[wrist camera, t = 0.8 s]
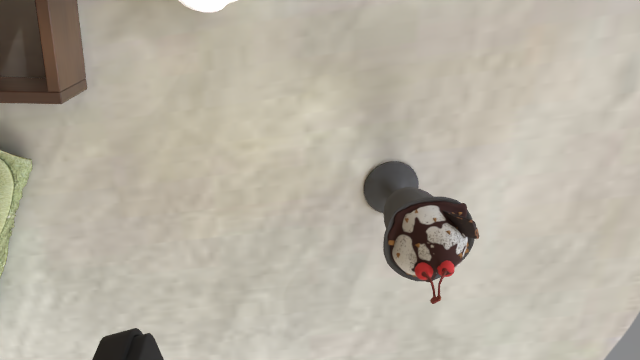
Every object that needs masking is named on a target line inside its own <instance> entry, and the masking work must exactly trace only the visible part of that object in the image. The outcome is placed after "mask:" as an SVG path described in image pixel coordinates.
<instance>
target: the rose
mask: <svg viewBox="0 0 640 360" xmlns="http://www.w3.org/2000/svg"><path fill="white" fill-rule="evenodd" d="M178 1H179V2H181V3H182V4H183V5H185V6H186V7H188V8H190V9H193V10H196V11H200V12H217V11H220V10H221V9H223V8H224V7H225V6H226V5H227V4H229V3H231V2H235V1H238V0H178Z"/></svg>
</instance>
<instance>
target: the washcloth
mask: <svg viewBox="0 0 640 360" xmlns="http://www.w3.org/2000/svg"><path fill="white" fill-rule="evenodd" d="M31 171H32V160H31V159H27V158H23V157H18V156H15V155H12V154H9V153H7V152H4V151H1V150H0V277H1V275H2V272H3V269H4V266H5V264H6V259H7V254H8V243H9V237H10V236H11V235H12V234H11V232H12V231H11V228H14V225H13V224H14V223H15V222H14V217H15V216H16V215H15V213H16V210H17V209H18V207H19V200H20V199H21V198H22V189H23V187H24V186H26V183H27V180H28V178H29V173H30V172H31Z"/></svg>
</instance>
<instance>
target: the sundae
mask: <svg viewBox="0 0 640 360" xmlns="http://www.w3.org/2000/svg"><path fill="white" fill-rule="evenodd" d="M364 194H365V198H366V200H367V202H368V204H369V205H370V206H371V207H372V208H373V209H375V210H377V211H379V212H382V213H384V222H385V226H386V231H385V235H384V255H385V258H386V261H387V263H388V264H389V266H390V267H391V268H392V269H393V270H394V271H395V272H397V273H398V274H400V275H401V276H403V277H406V278H408V279H411V280H415V281H426V282H430V283H431V286H432V289H433V298H432V299H431V300H430V301H431V303H432V304H434V303H436V302H438V301H440V300H441V296H440V284H441V282H442V279H443V278H444V277H448V276H451V275H452V274H453V273H454V269H455V268H456V267H457V266H458V265H459V264H460V263H461V261H462V260H464V259H465V257H466V256H467V255H468V253H469V252H470V250H471V248H472V246H473V243H474V239H478V238H479V233H478V229H477V227H476V224H475V222H474V221H473V220H472V218H471V215H470V213H469V212H468V210H467V206H466V204H465V203H460V202H458V201H457V200H454V199H451V198H446V197H433V196H432V195H431V194H429V193H428V192H425V191H423V190H421V189H418V178H417V176H416V173H415V172H414V170H413V169H412V168H411V167H409V166H408V165H406V164H404V163H401V162H387V163H384V164H381V165H379V166H377V167H376V168H375V169H374V170H373V171H372V172H371V173H370V174H369V176H368V178H367V180H366V182H365V187H364ZM440 277H441V279H440V281H439V285H438V296H437V297H436V296H435V289H434V285H433V282H432V281H433V280H435V279H438V278H440Z"/></svg>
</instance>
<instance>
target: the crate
mask: <svg viewBox="0 0 640 360" xmlns="http://www.w3.org/2000/svg"><path fill="white" fill-rule="evenodd" d="M35 4H36V11H37V18H38V25H39V32H40V39H41V46H42V53H43V60H44V67H45V74H46V78H31V77H0V103H37V104H62V103H64V102H66V101H67V100H69V99H71V98H72V97H74V96H76V95H77V94H79V93H81V92H83V91H84V90H86V89H87V84H86V79H85V78H86V75H85V67H84V58H83V49H82V41H81V32H80V24H79V15H78V6H77V0H35Z"/></svg>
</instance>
